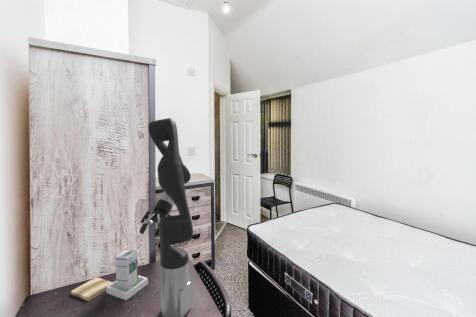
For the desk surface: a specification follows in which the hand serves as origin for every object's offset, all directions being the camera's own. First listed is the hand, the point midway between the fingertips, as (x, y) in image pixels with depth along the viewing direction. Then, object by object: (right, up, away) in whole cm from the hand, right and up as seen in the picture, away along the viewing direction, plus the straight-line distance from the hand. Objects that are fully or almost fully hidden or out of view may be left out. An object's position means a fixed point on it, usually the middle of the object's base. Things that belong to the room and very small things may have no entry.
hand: (148, 234), depth 99 cm
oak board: (-18, -18, -10) cm, 27 cm away
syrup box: (-4, -18, -9) cm, 21 cm away
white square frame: (-4, -18, -9) cm, 21 cm away
